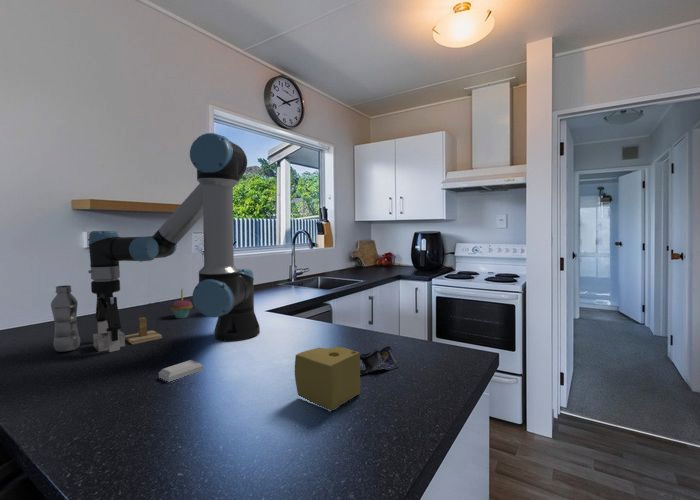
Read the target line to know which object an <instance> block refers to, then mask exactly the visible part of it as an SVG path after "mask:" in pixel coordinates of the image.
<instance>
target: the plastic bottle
mask: <svg viewBox="0 0 700 500" xmlns="http://www.w3.org/2000/svg"><path fill="white" fill-rule="evenodd" d="M71 292H72V286H71V285H69V284H67V285H57V286H55V294H56V296H54V297H53V299H52V301H51V302H50V308H51V313H52V315H53V316H52V317H53V321H54V323H53V324H54V337H53V343H52V344H53V349H54V350H55V351H56V352H60V353H61V352H69V351H74V350H76V349H78V348H79V347H80V345H81V337H80V334H79V330H78V323H77V321H78V320H77V318H78V316H77V313H78V300H77V298H76V297H75V296H74V295H73V294H72V293H71Z"/></svg>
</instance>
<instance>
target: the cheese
mask: <svg viewBox="0 0 700 500" xmlns="http://www.w3.org/2000/svg"><path fill="white" fill-rule="evenodd" d="M360 355H361V354H360V352H359V351H355V350H352V349H349V348H346V347H341V346H334V347H330V348H323V347H316V348H312V349H309V350H305V351H301V352H299V353H297V354H295V357H294V358H295V359H294V379H295V386H296V392H297V396H298V395H299V396H301V397H303V398H305V399H307V400H309V401H310V402H313V403H315V404H317V405H319V406H322V407H324V408H326V409H329V410H331V411H332V410H333V409H335V408H336V407H338V406H340V405H341V404H343V403H344V402H346V401H347V400H349V399H351V398H352V397H354V396H356V395H358V394H360V393H361V376H360Z"/></svg>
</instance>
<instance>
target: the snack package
mask: <svg viewBox="0 0 700 500" xmlns="http://www.w3.org/2000/svg"><path fill="white" fill-rule="evenodd" d="M381 364H387V365H391V366H396V365H397V366H398V367H399V366H400V364H399V362H398V361H397V358H396V356H395V354H394V353H393V349H392V348H391V346H385V347H383V348H382V349H381V350H379V349H374V351H372V352H368V353H362V354H360V374H363V375H365V374H364V373H367V372H370V373H373V371H374V372H375V371H383V370H382V369H385V370H386V371H388V369H387V368H384V367H381V368H378V366H380V365H381ZM363 365H365V368H366V369H365V370H361V367H363ZM367 374H368V373H367Z"/></svg>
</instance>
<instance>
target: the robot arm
mask: <svg viewBox="0 0 700 500" xmlns="http://www.w3.org/2000/svg"><path fill="white" fill-rule="evenodd" d="M189 158H190V162H191V163H192V165H193V167H194V168H195V169H196V181H197V182H198V185H197V186H196V187H195V188H194V189H193V190H192V192H190V193H189V195H187V196H186V198H184V199H185V200H183V202H182V203H181V204H180V205H179V206H178V207H177V208H176V210H174V212H173V213H172V214H171V215H170V216H169V217H168V218H167V220H166V221H165V222H164V223H163V224H162V225H161V226H160V227H159V228H158V229H157V231H156V232H155V233H154V234H153V235H151V236H149V235H148V236H127V237H126V236H122V237H121V236H119V234H118V232H117V231H116V230H92V231H91V232H90V233H89V234H88V235H89V236H88V247H89V248H88V251H89V260H90V269H89V270H88V271H87V272H88V274H90V280H92V281H91V282H90V288H91V293H92V294H95V295H96V306H95V308H96V309H95V317H94V318H95V319H96V323H97V333H102V332H108V342H109V350H108V352H109V353H113V352H116V351H120V350H121V347H120V341H119V330H120V329H122V325H121V317H120V314H119V313H120V311H119V306H118V298H117V296H114V293H118V292H120V291H121V280H120V279H119V278H121V273H120V272H121V271H120V269H121V268H120V262H151V261H153V260H155V259H158V258H160V259H161V258H162V259H163V258H166V257H170V256H172V255H173V254H175V252H176V251H177V247H178V245H177V244H178V243H179V242H180V241H181V240H182V239H183V238H184V237H185V236H186V235H187V233H188V232H189V231H190V230H191V229H192V228H193V227H194V226H195V225H196V223H198V221H200V219H201V218H203V219H202V221H203V222H202V223H203V224H202V226H203V228H202V229H203V230H202V231H203V267H201V269H199V270H198V283H197V284H196V285H195V287H194V288H193V291H192V295H191V296H192V302H193V303H192V304H194V307H195V308H196V309H197V310H198V311H199V312H200V313H201V314H203V315H204V316H206V317H210V318H217V320H216V323H215V327H214V330H213V333H214V337H213V338H215V339H216V340H218V341H219V340H220V341H226V342H227V341H228V342H229V341H234V340H235V341H242V340H241V339H243V340H247V339H246V338H248V339H251V338H250V337H252V338H254V337H253V336H255V337H256V335H257V334H258V335H259V334H260V331H261V329H260V328H261V327H260V324H259V321H258V318H257V315H256V312H255V302H254V301H255V299H254V297H255V296H254V294H255V293H254V292H255V291H254V274H253V273H254V272H253V271H252V269H249V268H248V269H247V268H237V267H236V266H235V265H234V263H235V261H234V258H235V257H234V194H233V193H234V190H233V189H234V187H235V186H236V185H237V184H238V183H239V181H240V180H241V179H242V177H243V176H244V175H245V172H246V170H247V167H248V159H247V155H246V153H245V151H244V149H242V147H241V146H240V145H238V144H236V143H234V142H232V141H231V140H229V139H228V138H227V137H225V136H224V135H222V134H218V133H215V132H208V133H204V134H201V135H199V136H198V137H197V138H195V140H194V141H193V142H192V143H191V146H190V148H189ZM258 335H257V336H258Z"/></svg>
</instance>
